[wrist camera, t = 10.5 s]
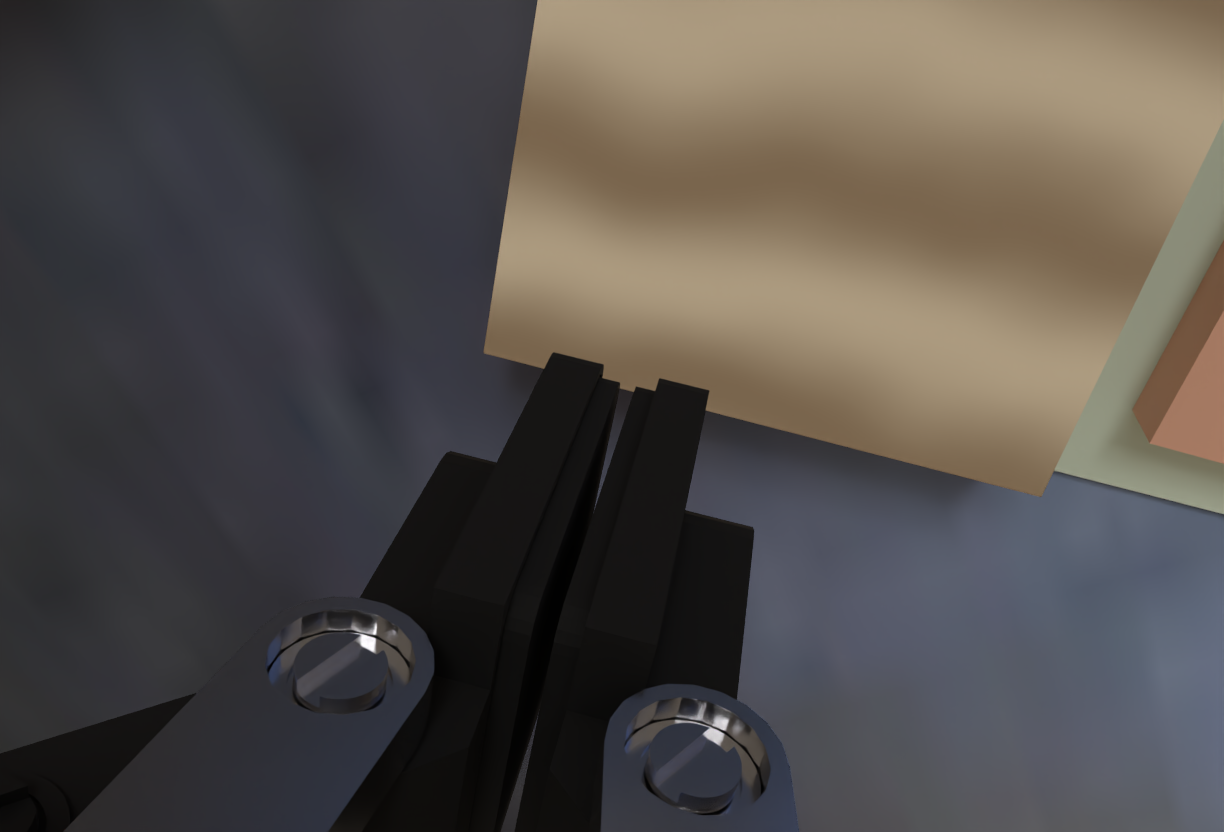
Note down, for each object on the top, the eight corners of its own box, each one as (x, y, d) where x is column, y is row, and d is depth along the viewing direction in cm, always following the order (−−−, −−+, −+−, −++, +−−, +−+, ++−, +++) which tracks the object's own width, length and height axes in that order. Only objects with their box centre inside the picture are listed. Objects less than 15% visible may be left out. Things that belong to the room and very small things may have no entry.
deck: (601, -203, 27) (569, -205, 24) (1237, -56, 27) (1299, -38, 23) (517, 299, 34) (483, 353, 31) (1019, 427, 34) (1041, 497, 30)
